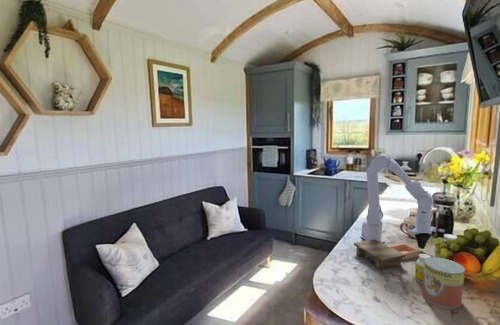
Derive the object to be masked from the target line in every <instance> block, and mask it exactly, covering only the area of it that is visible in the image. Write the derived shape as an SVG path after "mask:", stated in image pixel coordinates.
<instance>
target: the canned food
mask: <svg viewBox="0 0 500 325" xmlns="http://www.w3.org/2000/svg"><path fill="white" fill-rule="evenodd" d="M424 262H425V263H424V275H423V283H422V287H421V295H422V297H423V298H424V299H425V300H426V301H428V302H429V303H431V304H433V305H436V306H438V307H441V308H445V309H458V308H460V307H462V304H463V302H462V299H463V289H464V280H465V272H466V268H465V267H464V266H463V265H462V264H460V263H459V262H458V263H457V262H455V261H452V260H449V259H445V258H440V257H439V256H431V257H428V258H426V259H425V260H424Z"/></svg>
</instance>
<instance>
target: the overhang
mask: <svg viewBox="0 0 500 325" xmlns="http://www.w3.org/2000/svg"><path fill="white" fill-rule="evenodd" d="M353 246H355V247H356V250H355V252H356V253H355V255H356V256H357V257H359V256H360V257H365V256H366V258H367V259H369V260H370V261H371V262H374V263H375V265H374V266H375V268H376V269H377V270H380V269H384V268H389V267H393V266H398V265H401V263H402V260H401V258H404V257H405V254H403V253H401V252H399V251H397V250H395V249H393V248H391V247H389V246H390V245H387V244H385V243H384V242H382V243H381V242H379V241H377V240H375V239H374V240H368V241H366V240H363V241H359V242H357V241H356V242H353Z"/></svg>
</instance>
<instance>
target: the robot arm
mask: <svg viewBox="0 0 500 325" xmlns="http://www.w3.org/2000/svg"><path fill="white" fill-rule="evenodd" d="M383 169H385V170H387V171H391V172H393V173H394V174H395V175H396V176H397V177H398V178H399V179H400V180H401V181H402V182H403V183H404V185H405V186H404V189H405V190H406V191H407V192H408V193H409V194H410V196H412V198H414V200H417V201H416V204H417V209H416V219H415V227H413V228H412V229H409V230H408V235H410V236H411V237H412V236H414V237H415V239H416V242H417V247H418V248H419V249H421V250H424V249H425V247H426V245H427V243H428V241H429V239H430V238H432V233H436V231H437V227H434V226H432V214H433V213H432V212H433V211H432V210H433V207H432V206H433V204H434V203H433V201H434V198H433V196H432V194H431V193H429V192H428V191H427V190H425V188H424V187H423V186H421V182H420V181H417V179H411V177H410V176H409V175H408V174H407V172H406V171H405V170H404V169H403V168H402V167H401V166H400V164H399V163H398V162H397V161H396V160H395V159H394V158H392V157H391V155H389V154H388V153H381V154H380V155H377V156H376V157H374V158H372V160H371V163H370V164H369V165H368V167H367V169H366V180H367V181H366V182H367V194H368V195H367V197H368V208H367V215H366V218H365V219H366V220H364V221H363V222H362V224H361V232H360V233H361V236H359V238H361V239H362V238H363V240H364V239H365V240H364V241H368V240H374V239H375V240H377V241H379V242H381V243H385V242H386V240H384V239H382V238H383V237H382V234H383V222H382V220H383V219H384V212H383V210H382V207H381V204H380V203H381V202H380V190H379V176H378V174H379V173H380V172H381V171H382V170H383Z"/></svg>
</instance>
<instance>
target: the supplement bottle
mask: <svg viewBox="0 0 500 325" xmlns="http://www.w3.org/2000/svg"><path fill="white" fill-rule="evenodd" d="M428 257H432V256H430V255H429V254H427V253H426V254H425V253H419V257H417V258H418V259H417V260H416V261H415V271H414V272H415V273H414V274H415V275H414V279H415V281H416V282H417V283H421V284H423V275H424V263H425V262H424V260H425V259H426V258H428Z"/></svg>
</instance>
